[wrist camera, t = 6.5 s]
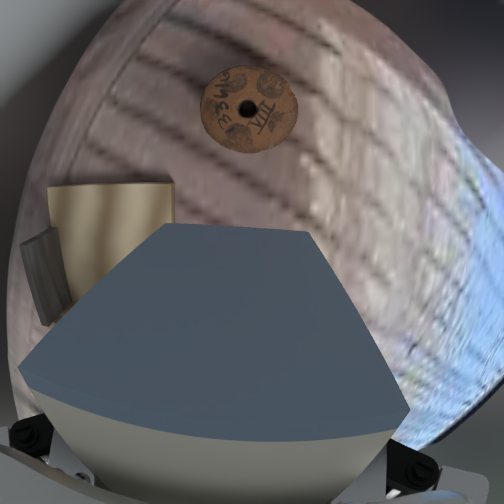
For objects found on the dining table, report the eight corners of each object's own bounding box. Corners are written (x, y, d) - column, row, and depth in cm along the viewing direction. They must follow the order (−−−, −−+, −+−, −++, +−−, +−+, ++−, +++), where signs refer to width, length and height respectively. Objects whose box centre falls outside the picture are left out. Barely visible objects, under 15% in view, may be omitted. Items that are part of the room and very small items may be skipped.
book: (308, 231, 9) (410, 409, 2) (278, 403, 13) (287, 537, 6) (165, 222, 9) (17, 366, 2) (181, 396, 12) (150, 525, 5)
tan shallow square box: (174, 182, 26) (148, 195, 19) (179, 319, 32) (164, 359, 25) (53, 185, 26) (13, 199, 19) (72, 303, 32) (44, 333, 25)
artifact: (302, 93, 23) (312, 82, 18) (274, 163, 25) (279, 167, 21) (225, 67, 22) (219, 51, 17) (198, 137, 24) (186, 135, 20)
